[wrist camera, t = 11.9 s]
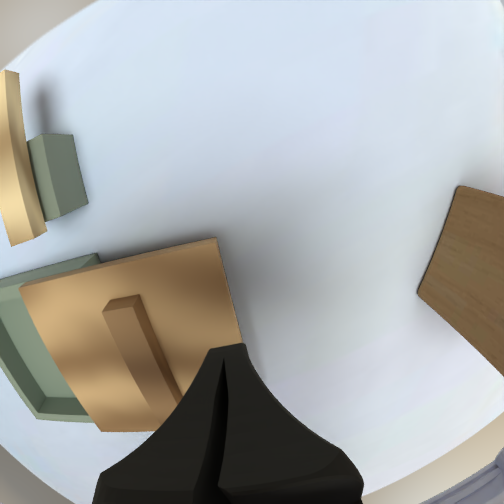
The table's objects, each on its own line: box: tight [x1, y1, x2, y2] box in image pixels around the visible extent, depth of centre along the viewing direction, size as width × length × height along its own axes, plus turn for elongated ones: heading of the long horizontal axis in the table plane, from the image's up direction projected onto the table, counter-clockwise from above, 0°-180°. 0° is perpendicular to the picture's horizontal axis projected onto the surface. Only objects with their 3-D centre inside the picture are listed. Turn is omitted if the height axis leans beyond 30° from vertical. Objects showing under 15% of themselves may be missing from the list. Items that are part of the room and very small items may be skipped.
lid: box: [18, 237, 243, 432], centre depth 18 cm, size 14×14×2 cm
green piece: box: [0, 253, 101, 423], centre depth 21 cm, size 14×14×3 cm
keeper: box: [26, 134, 88, 222], centre depth 16 cm, size 5×4×4 cm
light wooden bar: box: [0, 70, 47, 247], centre depth 12 cm, size 10×2×2 cm, turn 11°
